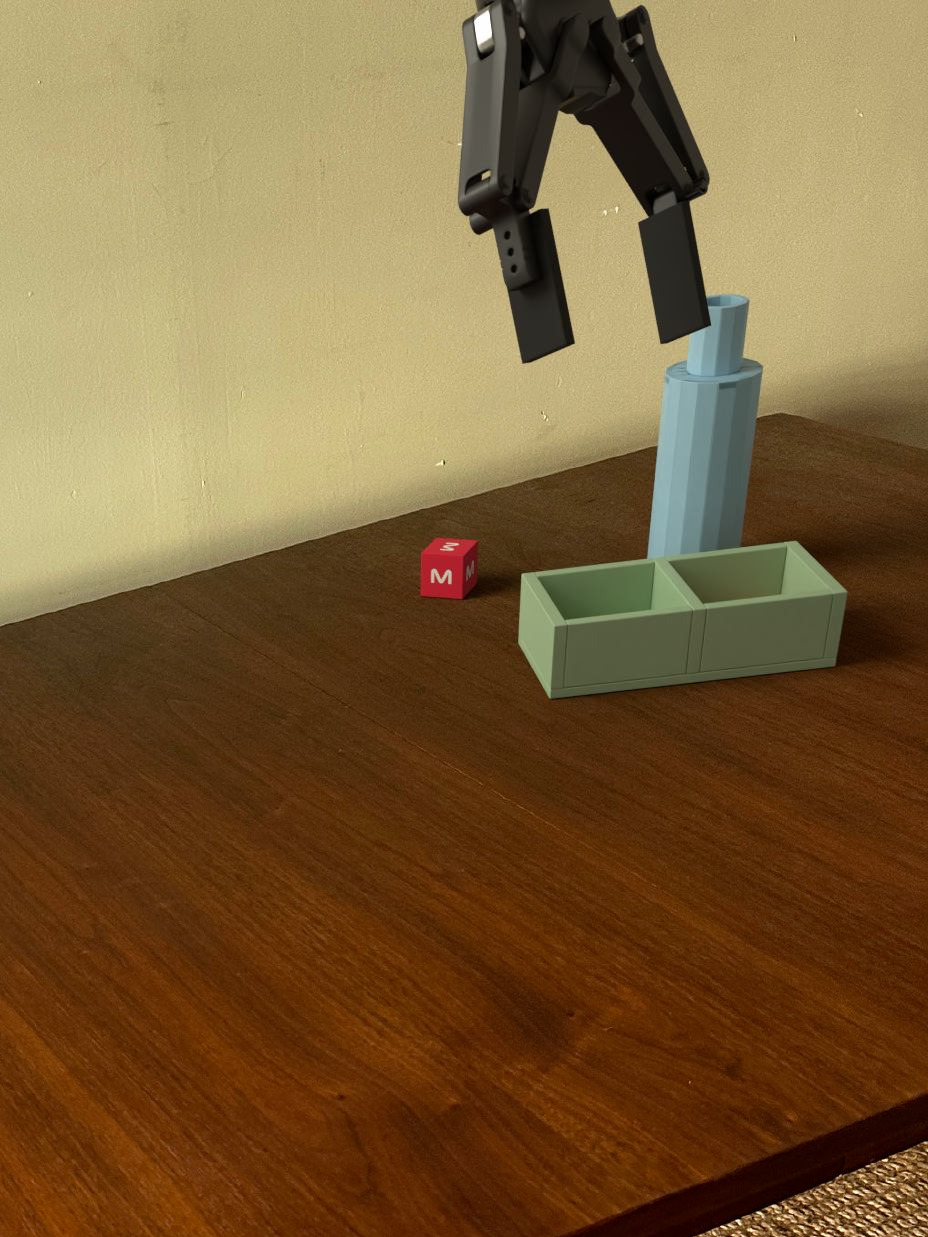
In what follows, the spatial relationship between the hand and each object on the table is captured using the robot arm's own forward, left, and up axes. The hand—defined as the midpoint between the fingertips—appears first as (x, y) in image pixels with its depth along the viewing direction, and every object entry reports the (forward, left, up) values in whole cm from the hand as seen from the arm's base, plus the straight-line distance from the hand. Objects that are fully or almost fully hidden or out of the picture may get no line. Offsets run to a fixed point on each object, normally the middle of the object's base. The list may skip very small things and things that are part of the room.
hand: (620, 344), depth 94 cm
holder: (-6, -5, -20) cm, 21 cm away
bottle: (-11, -18, -20) cm, 29 cm away
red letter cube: (+5, -20, -20) cm, 29 cm away
